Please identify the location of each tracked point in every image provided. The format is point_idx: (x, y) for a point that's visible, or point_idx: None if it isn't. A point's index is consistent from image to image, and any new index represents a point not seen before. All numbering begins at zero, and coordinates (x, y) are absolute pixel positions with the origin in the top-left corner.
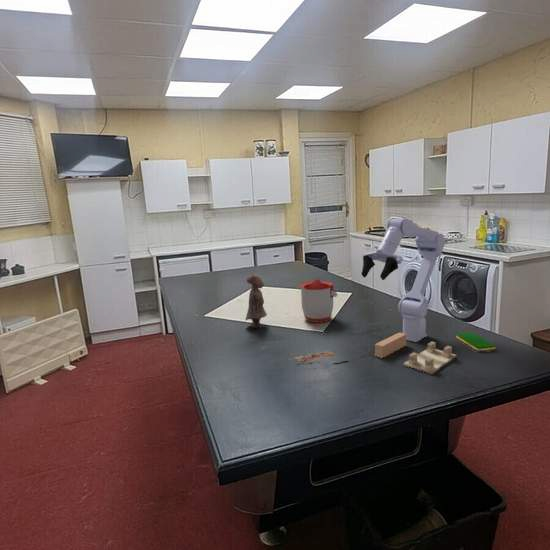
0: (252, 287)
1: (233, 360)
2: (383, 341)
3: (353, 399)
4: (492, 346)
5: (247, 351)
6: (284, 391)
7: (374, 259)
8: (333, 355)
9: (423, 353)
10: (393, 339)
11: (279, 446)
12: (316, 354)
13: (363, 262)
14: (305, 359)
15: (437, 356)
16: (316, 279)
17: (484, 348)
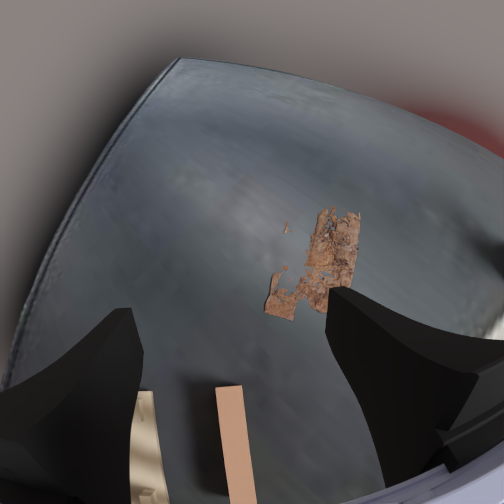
0: None
1: (400, 150)
2: (239, 421)
3: (142, 199)
4: None
5: (426, 185)
6: (247, 140)
7: (396, 489)
8: (315, 303)
9: (154, 473)
10: (228, 454)
11: (153, 89)
12: (344, 273)
13: (437, 329)
14: (336, 238)
15: None
16: None
17: None
